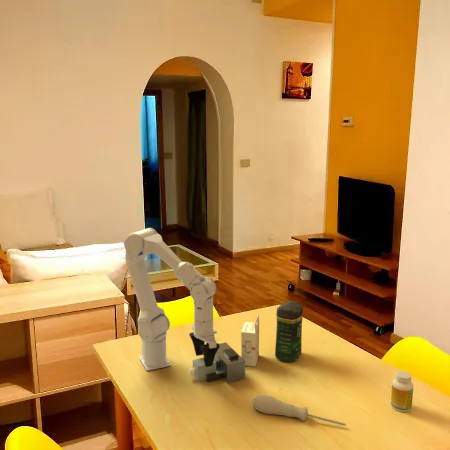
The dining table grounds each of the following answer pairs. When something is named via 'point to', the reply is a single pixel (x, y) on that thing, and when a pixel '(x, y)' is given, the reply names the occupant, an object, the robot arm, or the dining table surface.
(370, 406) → the dining table surface
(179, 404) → the dining table surface
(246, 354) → the ink cartridge box
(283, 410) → the screwdriver
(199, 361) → the grey block
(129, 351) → the dining table surface
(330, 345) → the dining table surface
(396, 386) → the supplement bottle
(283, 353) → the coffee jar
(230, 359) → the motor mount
